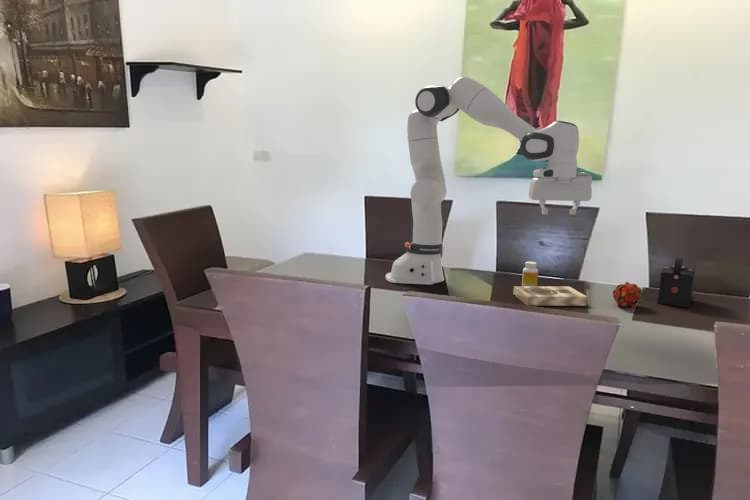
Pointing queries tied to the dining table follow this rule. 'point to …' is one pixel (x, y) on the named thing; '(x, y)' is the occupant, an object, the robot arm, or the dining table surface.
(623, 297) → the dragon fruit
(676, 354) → the dining table surface
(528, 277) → the supplement bottle
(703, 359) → the dining table surface
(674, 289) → the camera
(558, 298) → the holder block
